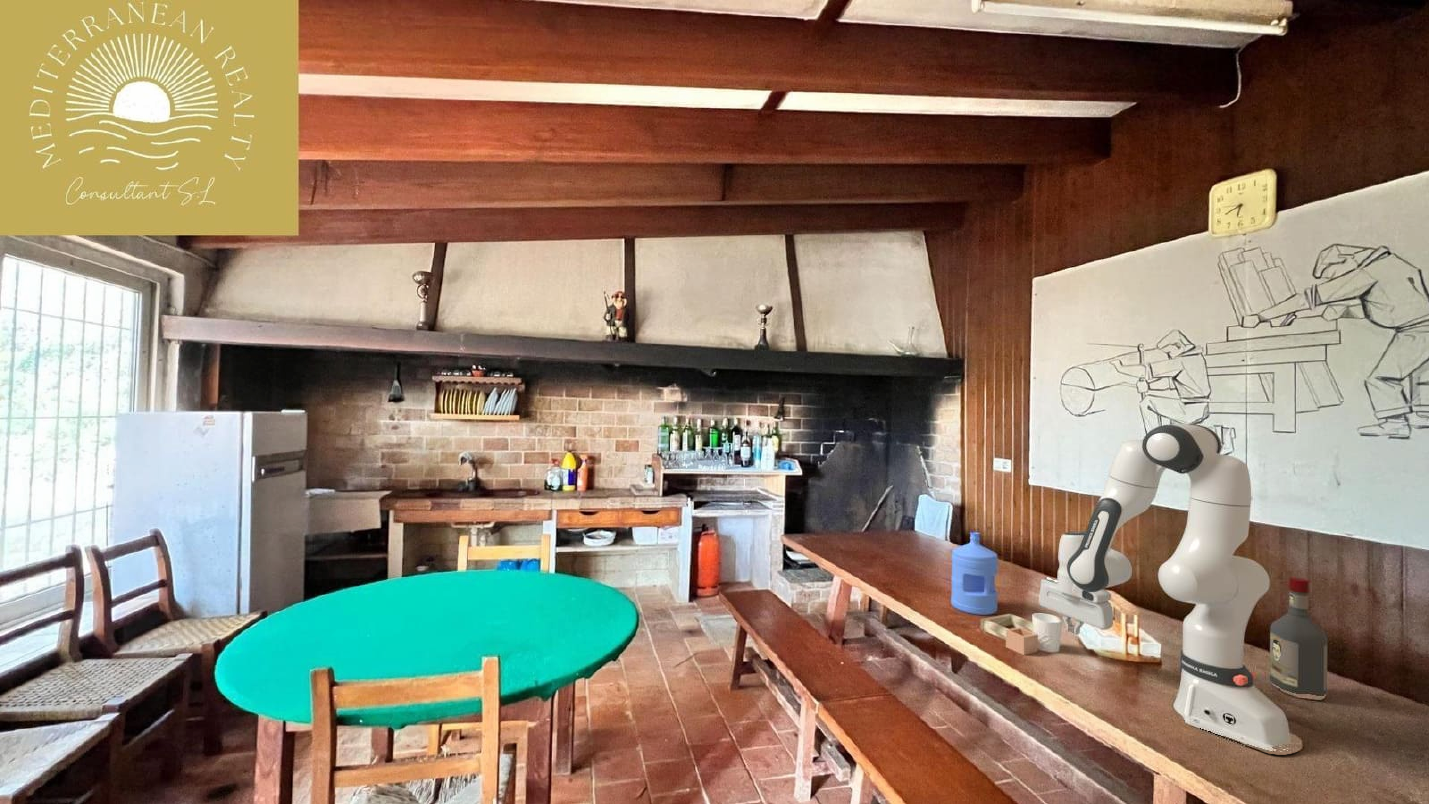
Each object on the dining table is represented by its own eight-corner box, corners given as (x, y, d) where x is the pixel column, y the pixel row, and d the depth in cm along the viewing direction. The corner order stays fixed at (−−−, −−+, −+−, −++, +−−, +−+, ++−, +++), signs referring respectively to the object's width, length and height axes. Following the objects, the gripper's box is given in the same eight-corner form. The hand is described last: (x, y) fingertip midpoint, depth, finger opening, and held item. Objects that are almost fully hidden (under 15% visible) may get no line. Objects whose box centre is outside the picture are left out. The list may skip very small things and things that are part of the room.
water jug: (941, 602, 214) (942, 529, 214) (975, 599, 218) (976, 527, 218) (972, 617, 199) (973, 538, 199) (1007, 613, 203) (1008, 536, 204)
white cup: (1053, 645, 176) (1053, 613, 176) (1066, 656, 169) (1067, 623, 169) (1027, 644, 177) (1027, 612, 177) (1039, 655, 169) (1039, 621, 169)
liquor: (1306, 686, 152) (1307, 576, 153) (1332, 703, 144) (1333, 586, 144) (1264, 681, 155) (1266, 572, 155) (1288, 697, 146) (1289, 582, 146)
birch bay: (1044, 639, 181) (1045, 627, 181) (1014, 646, 175) (1014, 633, 175) (1009, 625, 192) (1010, 613, 192) (980, 631, 187) (980, 619, 187)
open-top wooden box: (1037, 654, 170) (1037, 634, 170) (1023, 657, 167) (1023, 637, 167) (1019, 646, 175) (1019, 627, 175) (1005, 649, 173) (1005, 629, 173)
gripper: (1034, 576, 173) (1033, 620, 174) (1103, 599, 155) (1101, 648, 155) (1048, 573, 176) (1046, 617, 176) (1117, 596, 157) (1115, 645, 157)
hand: (1072, 632), depth 165 cm, fingers closed
